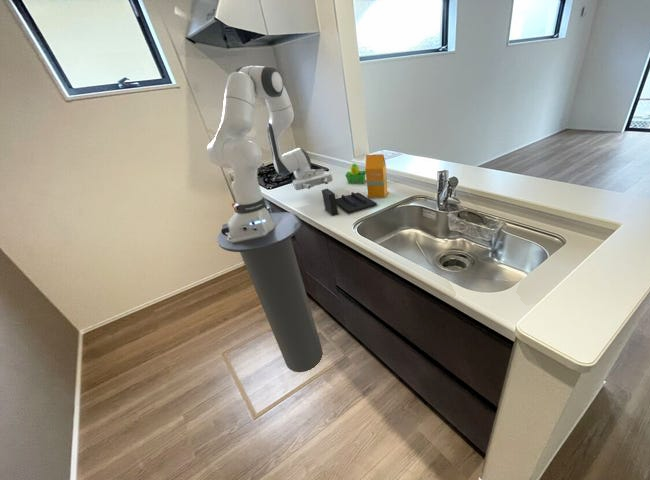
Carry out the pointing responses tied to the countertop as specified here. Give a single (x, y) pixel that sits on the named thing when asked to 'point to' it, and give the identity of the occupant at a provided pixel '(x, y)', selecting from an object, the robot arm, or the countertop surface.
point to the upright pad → (330, 202)
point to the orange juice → (376, 176)
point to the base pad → (354, 202)
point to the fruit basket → (355, 175)
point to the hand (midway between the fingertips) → (317, 184)
